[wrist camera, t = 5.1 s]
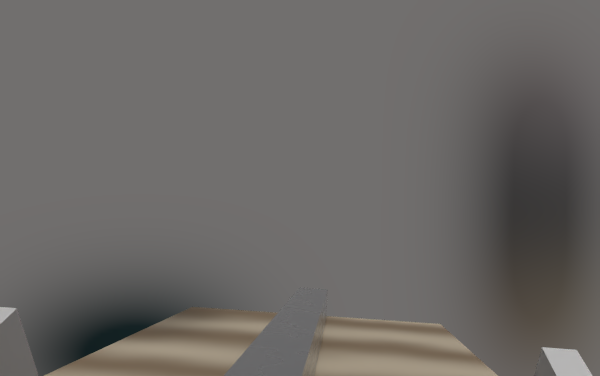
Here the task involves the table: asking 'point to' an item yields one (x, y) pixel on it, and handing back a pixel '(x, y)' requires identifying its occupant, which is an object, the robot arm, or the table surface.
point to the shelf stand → (249, 324)
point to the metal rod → (288, 339)
